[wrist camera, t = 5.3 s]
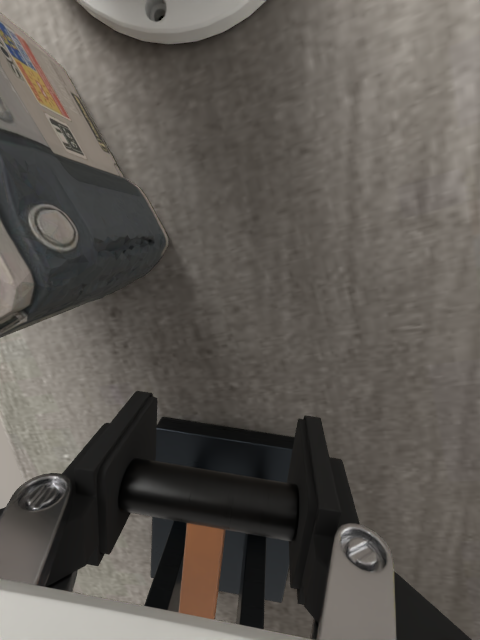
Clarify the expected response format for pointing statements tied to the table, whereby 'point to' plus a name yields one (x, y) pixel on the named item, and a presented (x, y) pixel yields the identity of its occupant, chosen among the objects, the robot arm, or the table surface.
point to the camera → (61, 195)
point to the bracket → (239, 548)
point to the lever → (208, 517)
